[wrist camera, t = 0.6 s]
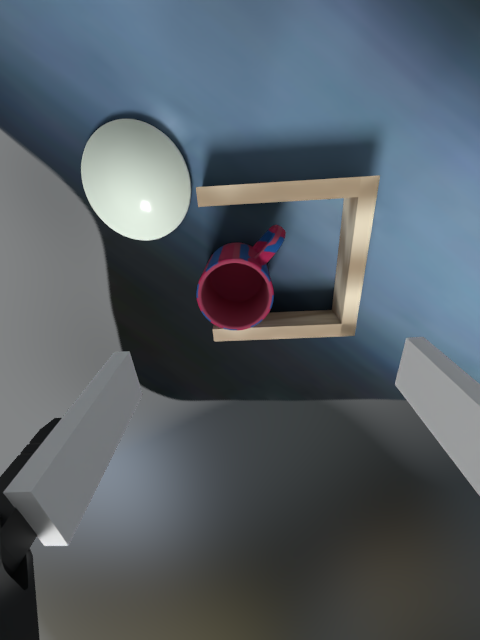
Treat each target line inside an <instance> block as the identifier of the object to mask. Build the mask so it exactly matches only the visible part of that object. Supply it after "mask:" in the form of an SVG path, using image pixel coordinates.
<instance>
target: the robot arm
mask: <svg viewBox="0 0 480 640" xmlns="http://www.w3.org/2000/svg"><path fill="white" fill-rule="evenodd" d="M395 385H396V386H397V388H398V389H399V390H400V392H401V393H402V394H403V396H404V397H405V398H406V400H407V401H408V402H409V403H410V405H411V406H412V407H413V409H414V410H415V411H416V413H417V414H418V415H419V417H420V418H421V419H422V421H423V422H424V423H425V425H426V426H427V427H428V429H429V430H430V431H431V433H432V434H433V435H434V436H435V437H436V439H437V440H438V442H439V443H440V444H441V446H442V447H443V448H444V450H445V451H446V452H447V453H448V455H449V456H450V458H451V459H452V460H453V461H454V463H455V464H456V465H457V467H458V468H459V469H460V470H461V472H462V473H463V474H464V476H465V477H466V478H467V480H468V481H469V482H470V484H471V485H472V486H473V488H474V489H475V490H476V492H477V493H478V494H479V496H480V384H479V383H478V382H476V381H475V380H474V379H473V378H472V377H470V376H469V375H468V374H467V373H466V372H465V371H463V370H462V369H461V368H460V367H459V366H457V365H456V364H455V363H454V362H453V361H451V360H450V359H449V358H448V357H447V356H445V355H444V354H443V353H442V352H441V351H440V350H438V349H437V348H436V347H435V346H434V345H432V344H431V343H430V342H429V341H428V340H426V339H425V338H424V337H412V338H406V341H405V345H404V350H403V354H402V358H401V362H400V366H399V370H398V374H397V378H396V382H395ZM141 397H142V391H141V388H140V385H139V381H138V378H137V375H136V371H135V368H134V365H133V361H132V358H131V355H130V352H129V351H127V352H114V353H113V354H112V355H111V357H110V358H109V359H108V361H107V362H106V363H105V364H104V366H103V367H102V368H101V369H100V371H99V372H98V373H97V374H96V376H95V377H94V378H93V379H92V381H91V382H90V383H89V384H88V386H87V387H86V388H85V389H84V391H83V392H82V393H81V395H80V396H79V397H78V398H77V400H76V401H75V402H74V403H73V405H72V406H71V407H70V409H69V410H68V411H67V412H66V413H65V415H64V416H63V417H62V418H54V419H53V420H52V421H51V422H49V423H48V424H47V425H45V426H44V427H43V428H42V429H40V430H39V432H38V433H37V434H36V435H35V436H34V438H33V439H32V440H31V441H30V444H29V445H27V446H26V447H25V448H24V449H23V451H22V452H21V455H18V456H17V458H16V459H15V460H14V461H13V462H12V464H11V465H10V466H9V467H8V468H7V470H6V471H5V472H4V473H3V474H2V475H1V477H0V640H39V628H38V616H37V603H36V590H35V579H34V566H33V555H32V553H31V550H30V547H31V545H32V543H33V542H34V540H35V538H36V537H38V538H39V539H40V541H41V542H42V543H43V544H44V546H68V545H69V543H70V542H71V539H72V537H73V535H74V533H75V531H76V529H77V527H78V525H79V523H80V521H81V519H82V517H83V515H84V513H85V511H86V509H87V507H88V505H89V503H90V501H91V499H92V497H93V495H94V493H95V491H96V488H97V487H98V484H99V482H100V480H101V478H102V476H103V474H104V472H105V470H106V468H107V466H108V464H109V462H110V460H111V458H112V456H113V454H114V452H115V450H116V448H117V446H118V444H119V442H120V440H121V438H122V436H123V434H124V432H125V430H126V428H127V425H128V423H129V421H130V419H131V417H132V415H133V413H134V411H135V409H136V407H137V405H138V403H139V401H140V399H141Z"/></svg>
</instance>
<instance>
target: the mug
mask: <svg viewBox="0 0 480 640" xmlns="http://www.w3.org/2000/svg"><path fill="white" fill-rule="evenodd" d="M284 239H285V230H284V229H283V228H282V227H281V226H279V225H274V226H272V227H271V228H269V229H268V230H267V231H266V233H265V234H264V235H263V236H262V237H261V238H260V239H259V240H258V241H257V242H256V243H255V245H254V246H253V247H252V246H250V245H248V244H244V243H229V244H226V245H224V246H222V247H220V248H219V249H217V250H216V251H215V252H214V253H213V254H212V256H211V257H210V259H209V261H208V263H207V265H206V267H205V269H204V271H203V274H202V276H201V278H200V280H199V283H198V286H197V292H196V294H197V302H198V305H199V308H200V310H201V312H202V313H203V315H204V316H205V317H206V318H207V319H208V320H209V321H210V322H211V323H213V324H214V325H216V326H218V327H220V328H223V329H227V330H237V331H238V330H245V329H248V328H251V327H253V326H255V325H257V324H258V323H260V322H261V321H262V320H263V319H264V318H265V317H266V316H267V315H268V313H269V311H270V309H271V307H272V304H273V300H274V290H273V285H272V282H271V278H270V275H269V271H268V267H267V263H268V261H269V260H270V259H271V258H272V257H273V256H274V254H275V253H276V252H277V251H278V249H279V248H280V246H281V245H282V243H283V241H284Z"/></svg>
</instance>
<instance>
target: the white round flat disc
mask: <svg viewBox="0 0 480 640" xmlns="http://www.w3.org/2000/svg"><path fill="white" fill-rule="evenodd" d="M81 175H82V182H83V186H84V190H85V193H86V196H87V198H88V200H89V202H90V204H91V206H92V207H93V209H94V211H95V212H96V213H97V215H98V216H99V217H100V218H101V219H102V220H103V222H104V223H106V224H107V225H108V226H109V227H110V228H112V229H113V230H114V231H116V232H118V233H120V234H121V235H124V236H126V237H128V238H132V239H136V240H154V239H158V238H161V237H163V236H166V235H167V234H169V233H170V232H172V231H173V230H174V229H176V228H177V227H178V226H179V225H180V223H181V222H182V221H183V219H184V217H185V216H186V213H187V211H188V208H189V205H190V200H191V180H190V174H189V171H188V167H187V165H186V162H185V160H184V158H183V156H182V154H181V152H180V151H179V149H178V148H177V147H176V145H175V144H174V143H173V142H172V141H171V140H170V138H169V137H167V136H166V135H165V134H164V133H163V132H161V131H160V130H158V129H157V128H155V127H154V126H152V125H150V124H148V123H145V122H142V121H139V120H134V119H118V120H114V121H111V122H108V123H106V124H104V125H103V126H101V127H100V128H99V129H97V130H96V131H95V132H94V133H93V135H92V136H91V137H90V139H89V140H88V142H87V144H86V147H85V149H84V152H83V156H82V163H81Z"/></svg>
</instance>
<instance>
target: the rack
mask: <svg viewBox="0 0 480 640" xmlns="http://www.w3.org/2000/svg"><path fill="white" fill-rule="evenodd" d="M379 179H380V176H365V177H349V178H333V179H318V180H302V181H286V182H270V183H255V184H239V185H223V186H208V187H196V191H197V200H198V207H203V206H220V205H236V204H253V203H269V202H286V201H302V200H319V199H335V198H344V204H343V213H342V222H341V231H340V241H339V250H338V259H337V268H336V277H335V286H334V295H333V304H332V310H318V311H295V312H272V313H268V315H267V316H266V317H265V318H264V319H263V320H262V321H261V322H260V323H258V324H257V325H255V326H253V327H251V328H248V329H245V330H238V331H237V330H227V329H223V328H220V327H218V326H216V325H214V326H213V336H214V341H237V340H262V339H287V338H312V337H337V336H354V335H355V329H356V322H357V316H358V310H359V304H360V297H361V291H362V285H363V279H364V273H365V266H366V260H367V254H368V248H369V241H370V235H371V229H372V223H373V216H374V210H375V204H376V198H377V191H378V185H379Z"/></svg>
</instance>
